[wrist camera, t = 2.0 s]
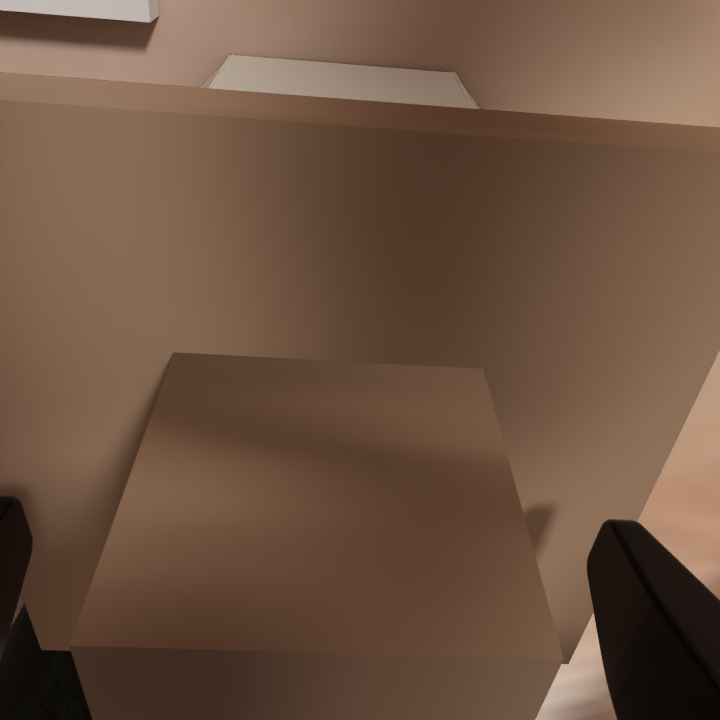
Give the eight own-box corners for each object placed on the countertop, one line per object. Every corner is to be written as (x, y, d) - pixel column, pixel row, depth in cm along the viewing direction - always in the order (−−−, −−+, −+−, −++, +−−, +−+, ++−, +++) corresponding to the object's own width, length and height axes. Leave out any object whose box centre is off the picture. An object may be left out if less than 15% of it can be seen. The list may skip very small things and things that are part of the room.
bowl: (133, 445, 16) (80, 588, 13) (66, 40, 11) (-50, 111, 8) (501, 462, 17) (538, 603, 14) (607, 83, 12) (710, 166, 8)
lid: (59, 602, 13) (-65, 922, 9) (-107, 64, 7) (-647, 296, 3) (555, 617, 14) (641, 924, 10) (764, 131, 8) (1188, 397, 4)
